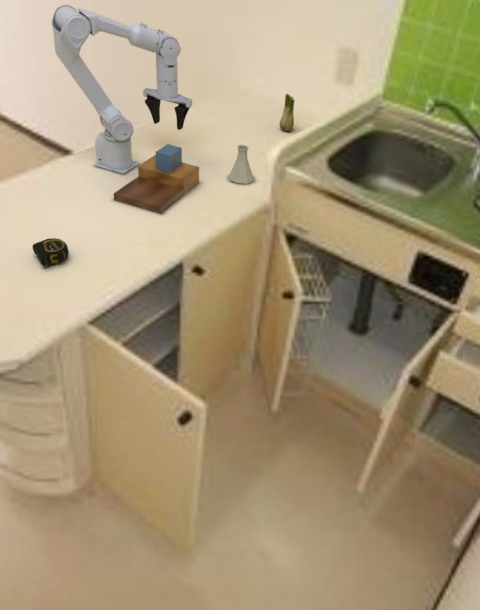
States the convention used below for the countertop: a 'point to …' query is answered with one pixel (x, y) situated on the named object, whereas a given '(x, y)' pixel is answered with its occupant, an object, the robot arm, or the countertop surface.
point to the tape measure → (51, 251)
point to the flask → (241, 167)
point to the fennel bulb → (287, 114)
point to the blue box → (168, 158)
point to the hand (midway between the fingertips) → (168, 125)
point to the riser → (158, 186)
